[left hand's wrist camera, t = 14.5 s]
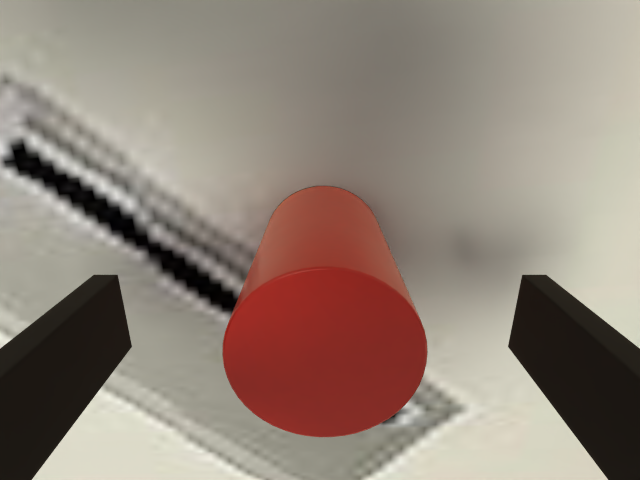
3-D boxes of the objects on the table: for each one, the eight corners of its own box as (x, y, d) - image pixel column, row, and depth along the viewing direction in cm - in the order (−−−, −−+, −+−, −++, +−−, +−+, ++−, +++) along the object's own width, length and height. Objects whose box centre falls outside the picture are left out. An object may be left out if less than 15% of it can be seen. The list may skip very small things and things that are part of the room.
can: (274, 175, 17) (232, 249, 9) (392, 197, 18) (454, 287, 9) (259, 283, 19) (213, 424, 11) (366, 300, 20) (398, 450, 11)
